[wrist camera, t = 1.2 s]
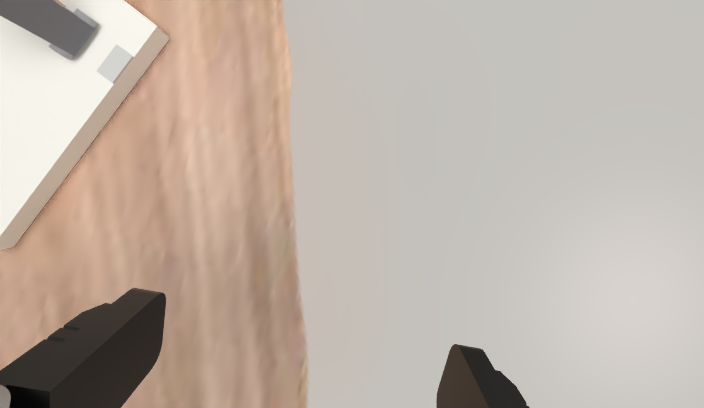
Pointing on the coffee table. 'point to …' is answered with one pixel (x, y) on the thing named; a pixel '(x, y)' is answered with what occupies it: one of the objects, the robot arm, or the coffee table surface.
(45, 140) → the switch base
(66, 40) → the lever
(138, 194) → the coffee table surface
